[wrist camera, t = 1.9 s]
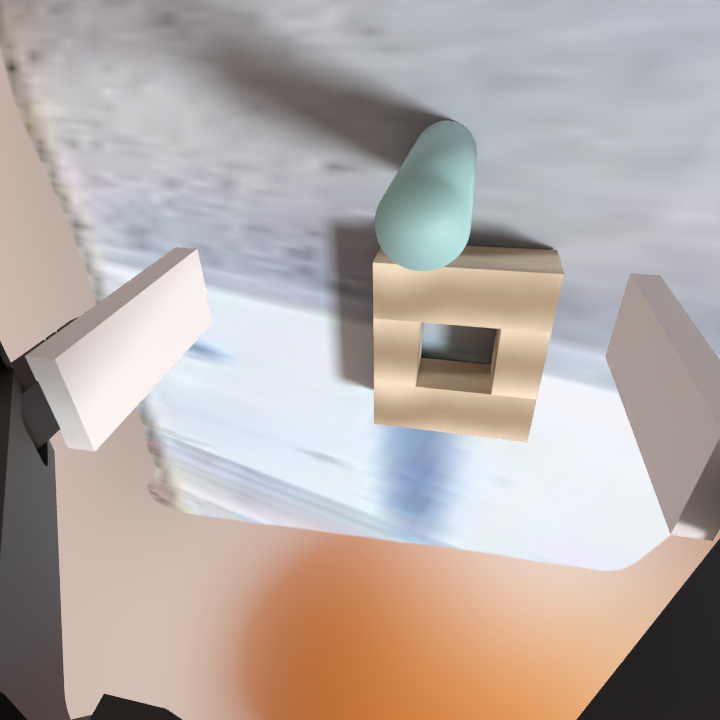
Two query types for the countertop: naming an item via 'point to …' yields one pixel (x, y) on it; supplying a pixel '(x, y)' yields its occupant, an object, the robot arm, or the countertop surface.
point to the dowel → (430, 200)
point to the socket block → (465, 308)
